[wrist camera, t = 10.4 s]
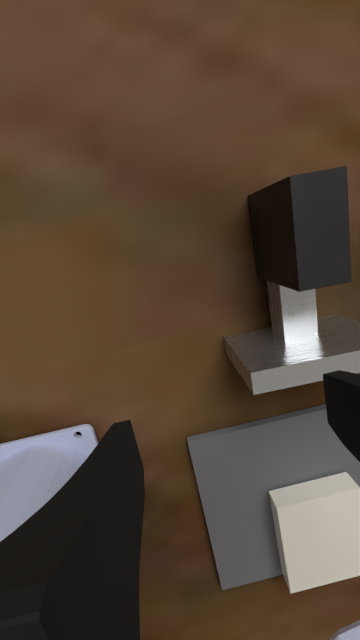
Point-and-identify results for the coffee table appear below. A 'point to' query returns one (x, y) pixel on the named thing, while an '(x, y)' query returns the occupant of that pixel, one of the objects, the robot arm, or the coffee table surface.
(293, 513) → the cream rectangular block
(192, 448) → the mat
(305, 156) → the coffee table surface
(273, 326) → the mounted block
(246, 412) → the coffee table surface
